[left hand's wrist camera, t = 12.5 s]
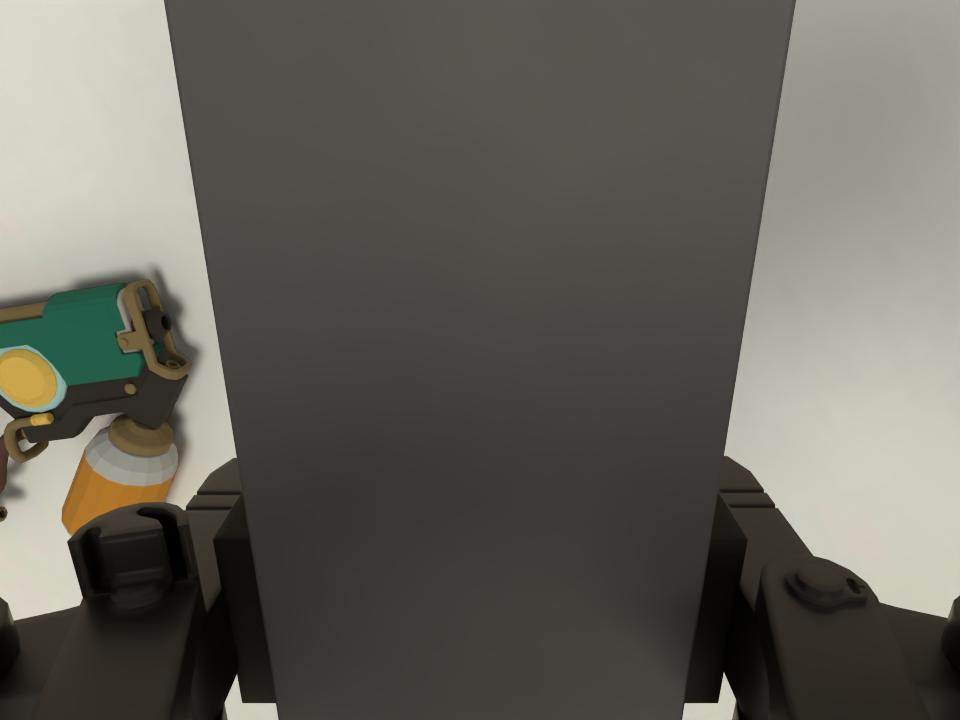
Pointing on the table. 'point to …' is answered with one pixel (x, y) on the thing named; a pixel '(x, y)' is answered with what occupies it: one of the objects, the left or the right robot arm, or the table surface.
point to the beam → (480, 333)
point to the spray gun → (93, 392)
